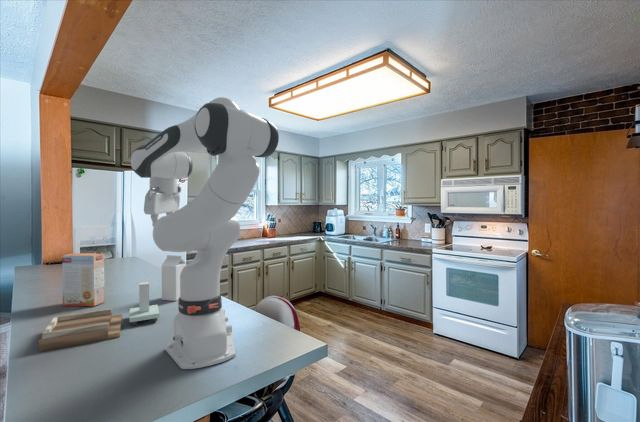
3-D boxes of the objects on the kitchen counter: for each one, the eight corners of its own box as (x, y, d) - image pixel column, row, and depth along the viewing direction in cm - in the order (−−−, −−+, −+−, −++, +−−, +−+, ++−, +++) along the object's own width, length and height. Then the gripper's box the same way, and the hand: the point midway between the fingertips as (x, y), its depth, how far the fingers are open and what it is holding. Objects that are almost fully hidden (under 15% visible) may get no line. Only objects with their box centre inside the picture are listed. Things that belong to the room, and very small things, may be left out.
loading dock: (119, 337, 96) (119, 322, 96) (38, 351, 86) (38, 335, 86) (121, 318, 111) (121, 306, 111) (53, 329, 102) (53, 315, 102)
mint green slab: (159, 322, 108) (159, 285, 108) (129, 327, 104) (129, 288, 103) (157, 312, 118) (157, 278, 118) (129, 316, 113) (129, 281, 113)
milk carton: (176, 301, 132) (175, 257, 131) (161, 300, 133) (161, 256, 133) (186, 296, 139) (186, 254, 138) (172, 295, 140) (172, 253, 140)
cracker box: (105, 302, 130) (105, 253, 129) (93, 307, 124) (93, 255, 123) (75, 301, 131) (74, 252, 131) (61, 306, 125) (61, 254, 125)
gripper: (158, 187, 102) (157, 229, 102) (183, 188, 122) (182, 222, 123) (139, 186, 101) (138, 228, 102) (166, 187, 122) (165, 222, 122)
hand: (162, 225), depth 113 cm, fingers open, 8 cm apart
